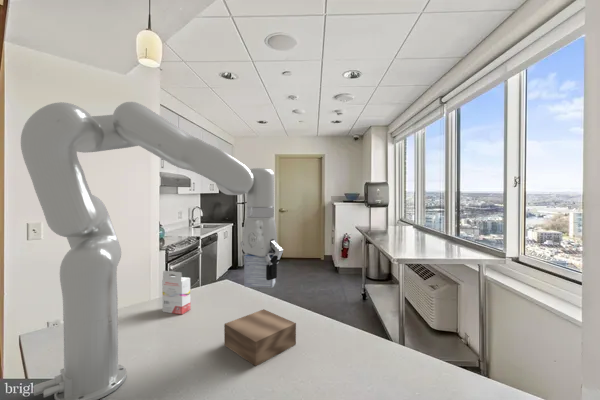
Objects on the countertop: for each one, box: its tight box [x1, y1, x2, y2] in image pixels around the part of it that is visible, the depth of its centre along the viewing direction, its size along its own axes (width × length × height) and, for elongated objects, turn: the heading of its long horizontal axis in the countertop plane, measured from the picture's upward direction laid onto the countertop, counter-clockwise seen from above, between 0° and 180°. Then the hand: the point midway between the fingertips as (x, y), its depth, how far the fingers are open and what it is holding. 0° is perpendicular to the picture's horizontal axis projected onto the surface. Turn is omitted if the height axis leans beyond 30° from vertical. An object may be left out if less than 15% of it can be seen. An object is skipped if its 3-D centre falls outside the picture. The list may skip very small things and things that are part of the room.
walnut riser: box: [223, 309, 297, 367], centre depth 80 cm, size 14×14×6 cm
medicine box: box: [243, 254, 276, 289], centre depth 79 cm, size 8×4×9 cm, turn 85°
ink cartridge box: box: [161, 270, 192, 315], centre depth 103 cm, size 9×5×15 cm, turn 73°
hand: (260, 275), depth 79 cm, fingers closed on medicine box, 9 cm apart
